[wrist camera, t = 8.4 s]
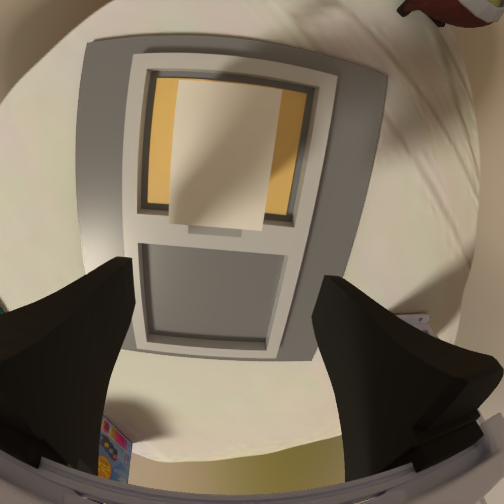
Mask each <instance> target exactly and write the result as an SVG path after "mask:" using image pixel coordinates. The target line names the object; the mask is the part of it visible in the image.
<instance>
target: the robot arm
mask: <svg viewBox="0 0 504 504" xmlns="http://www.w3.org/2000/svg"><path fill="white" fill-rule="evenodd" d="M135 305H136V299H135V289H134V277H133V263H132V258H130V257H121V256H116V257H114V258H112V259H110V260H109V261H107V262H105V263H104V264H102V265H100V266H99V267H97V268H96V269H94V270H92V271H91V272H89V273H87V274H86V275H84V276H83V277H81V278H79V279H78V280H76V281H74V282H72V283H71V284H69V285H67V286H66V287H64V288H62V289H60V290H59V291H57V292H55V293H53V294H51V295H49V296H47V297H45V298H42V299H40V300H38V301H36V302H34V303H31V304H29V305H26V306H23V307H21V308H18V309H15V310H13V311H10V312H7V313H3V314H0V504H100V503H97V502H94V501H91V500H89V499H92V500H95V501H98V502H102V503H105V504H354V503H358V502H361V501H364V500H368V499H371V498H374V497H375V498H374V499H371V500H369V501H366V502H363V503H360V504H487V503H486V501H485V499H484V496H485V495H486V494H487V493H488V492H489V491H490V490H491V489H492V488H493V487H494V486H495V485H496V484H497V483H498V482H499V481H500V480H501V479H502V478H503V477H504V418H503V416H502V414H501V413H497V414H496V415H494V416H493V417H491V418H489V419H488V420H486V421H485V420H484V418H483V416H482V415H481V413H480V411H479V410H478V408H479V407H480V405H481V404H482V403H483V402H484V401H485V400H486V399H487V398H488V397H489V395H490V394H491V393H492V392H493V391H494V389H495V388H496V387H497V386H498V384H499V382H500V381H501V379H502V377H503V373H504V372H503V371H504V369H503V368H502V366H501V365H500V364H499V362H498V361H497V360H496V359H495V358H494V357H493V356H490V355H486V354H481V353H478V352H474V351H470V350H467V349H464V348H460V347H458V346H455V345H452V344H450V343H447V342H445V341H442V340H440V339H439V338H438V337H437V335H436V334H435V333H434V331H433V330H432V329H431V327H430V326H429V325H428V324H427V323H428V321H429V319H430V315H429V314H405V315H394V314H393V313H391V312H390V311H388V310H387V309H385V308H384V307H383V306H381V305H380V304H378V303H377V302H376V301H374V300H373V299H371V298H370V297H369V296H367V295H366V294H365V293H363V292H362V291H361V290H359V289H358V288H356V287H355V286H354V285H352V284H351V283H349V282H348V281H346V280H345V279H343V278H341V277H340V276H332V275H324V278H323V281H322V284H321V288H320V291H319V294H318V297H317V300H316V303H315V307H314V310H313V313H312V316H311V319H312V324H313V329H314V334H315V338H316V341H317V344H318V347H319V350H320V353H321V355H322V358H323V361H324V364H325V366H326V369H327V372H328V375H329V378H330V380H331V383H332V387H333V390H334V394H335V398H336V403H337V408H338V413H339V419H340V425H341V431H342V439H343V448H344V461H345V482H344V483H340V484H335V485H330V486H325V487H319V488H313V489H307V490H300V491H292V492H282V493H271V494H254V495H212V494H195V493H182V492H174V491H166V490H159V489H153V488H146V487H141V486H136V485H131V484H126V483H122V482H118V481H113V480H110V479H106V478H102V477H98V461H99V443H100V432H101V423H102V417H103V411H104V405H105V399H106V394H107V390H108V385H109V381H110V377H111V374H112V371H113V368H114V365H115V363H116V360H117V357H118V355H119V352H120V350H121V347H122V345H123V342H124V339H125V337H126V334H127V332H128V329H129V327H130V324H131V320H132V316H133V313H134V309H135ZM82 496H83V497H82ZM84 497H86V498H89V499H86V498H84Z"/></svg>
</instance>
